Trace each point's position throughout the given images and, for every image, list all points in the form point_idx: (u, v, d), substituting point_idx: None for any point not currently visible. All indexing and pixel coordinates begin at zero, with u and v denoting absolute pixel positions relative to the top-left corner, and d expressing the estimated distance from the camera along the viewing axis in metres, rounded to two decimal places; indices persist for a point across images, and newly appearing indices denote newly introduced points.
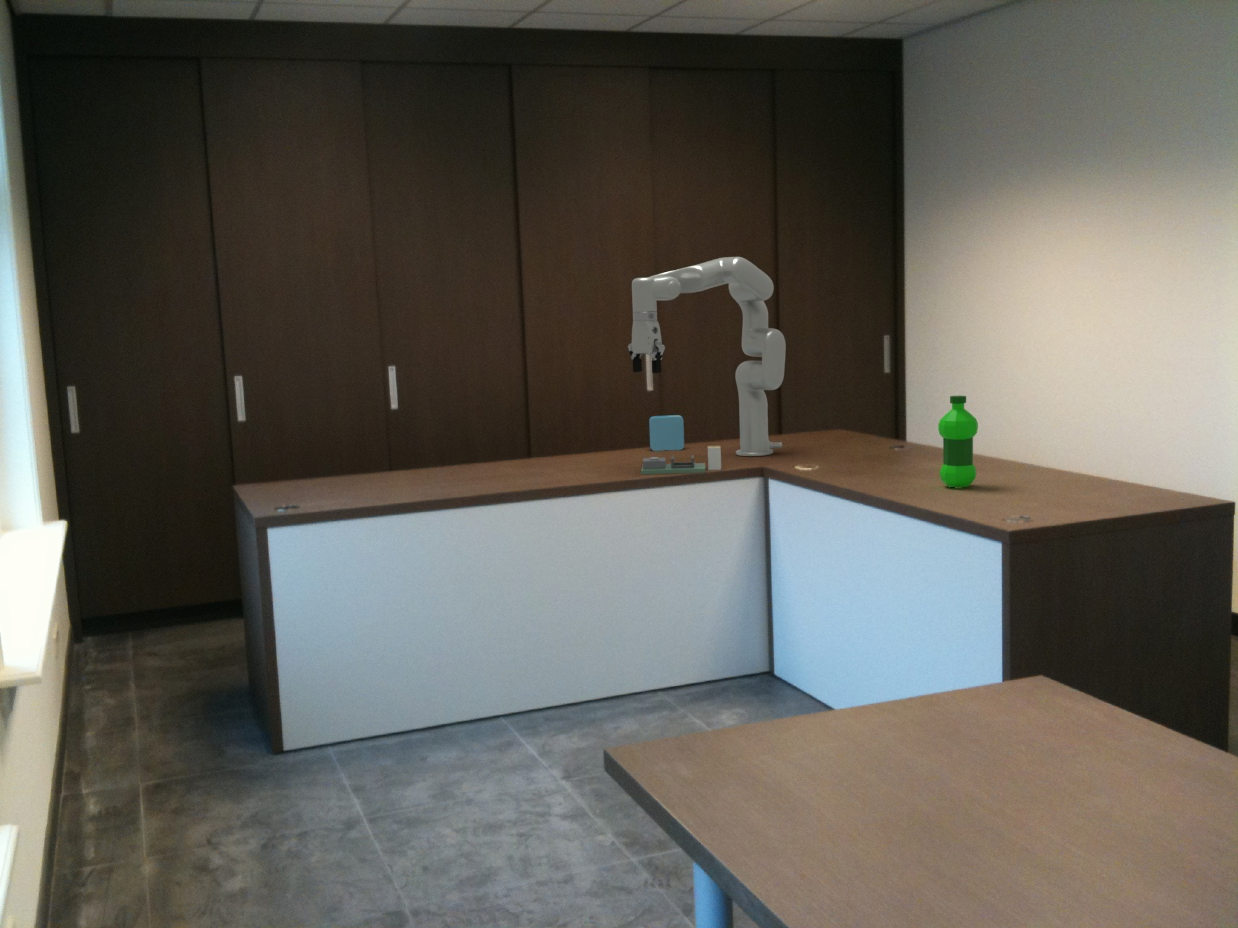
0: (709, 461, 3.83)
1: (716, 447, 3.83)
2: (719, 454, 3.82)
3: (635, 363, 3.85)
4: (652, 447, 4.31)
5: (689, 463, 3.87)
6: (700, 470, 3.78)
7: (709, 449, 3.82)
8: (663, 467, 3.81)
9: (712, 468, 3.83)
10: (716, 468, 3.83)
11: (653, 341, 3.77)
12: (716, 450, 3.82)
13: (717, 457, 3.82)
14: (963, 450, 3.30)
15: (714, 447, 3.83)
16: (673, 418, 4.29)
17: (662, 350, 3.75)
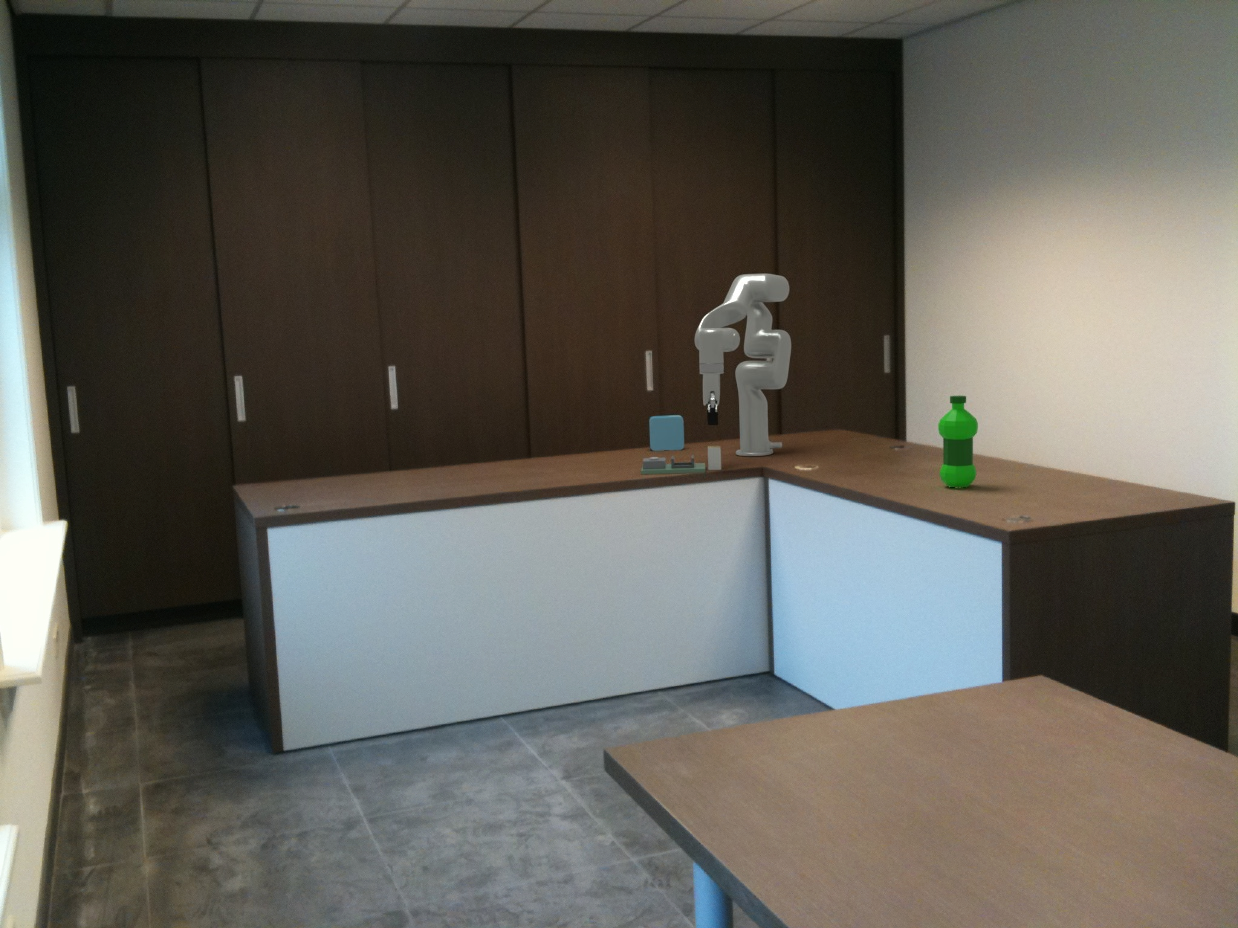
0: (709, 461, 3.83)
1: (716, 447, 3.83)
2: (719, 454, 3.82)
3: None
4: (652, 447, 4.31)
5: (689, 463, 3.87)
6: (700, 470, 3.78)
7: (709, 449, 3.82)
8: (663, 467, 3.81)
9: (712, 468, 3.83)
10: (716, 468, 3.83)
11: None
12: (716, 450, 3.82)
13: (717, 457, 3.82)
14: (963, 450, 3.30)
15: (714, 447, 3.83)
16: (673, 418, 4.29)
17: None
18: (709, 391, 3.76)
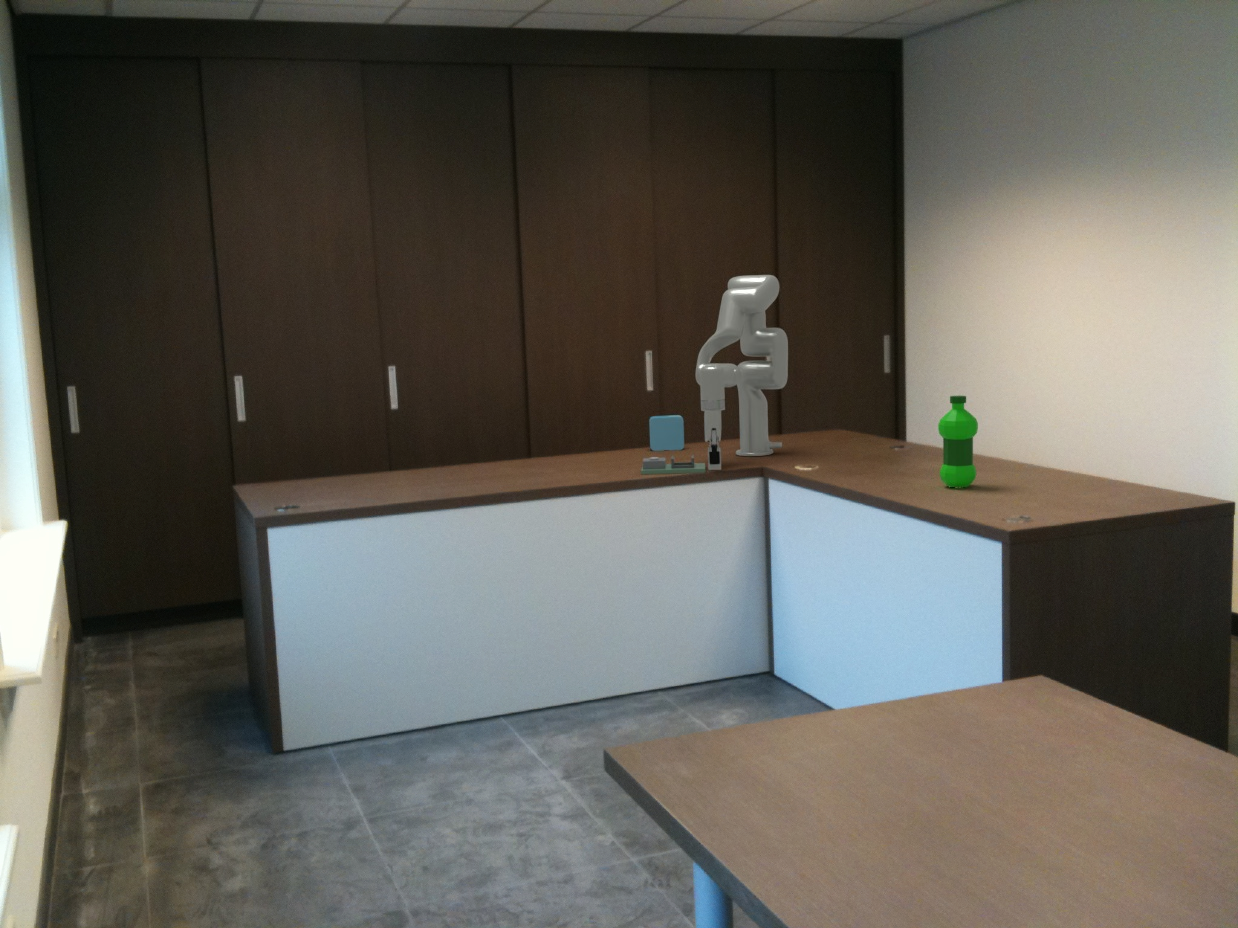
0: (709, 461, 3.83)
1: None
2: None
3: None
4: (652, 447, 4.31)
5: (689, 463, 3.87)
6: (700, 470, 3.78)
7: (709, 449, 3.82)
8: (663, 467, 3.81)
9: (712, 468, 3.83)
10: (716, 468, 3.83)
11: None
12: None
13: None
14: (963, 450, 3.30)
15: None
16: (673, 418, 4.29)
17: None
18: (711, 428, 3.78)
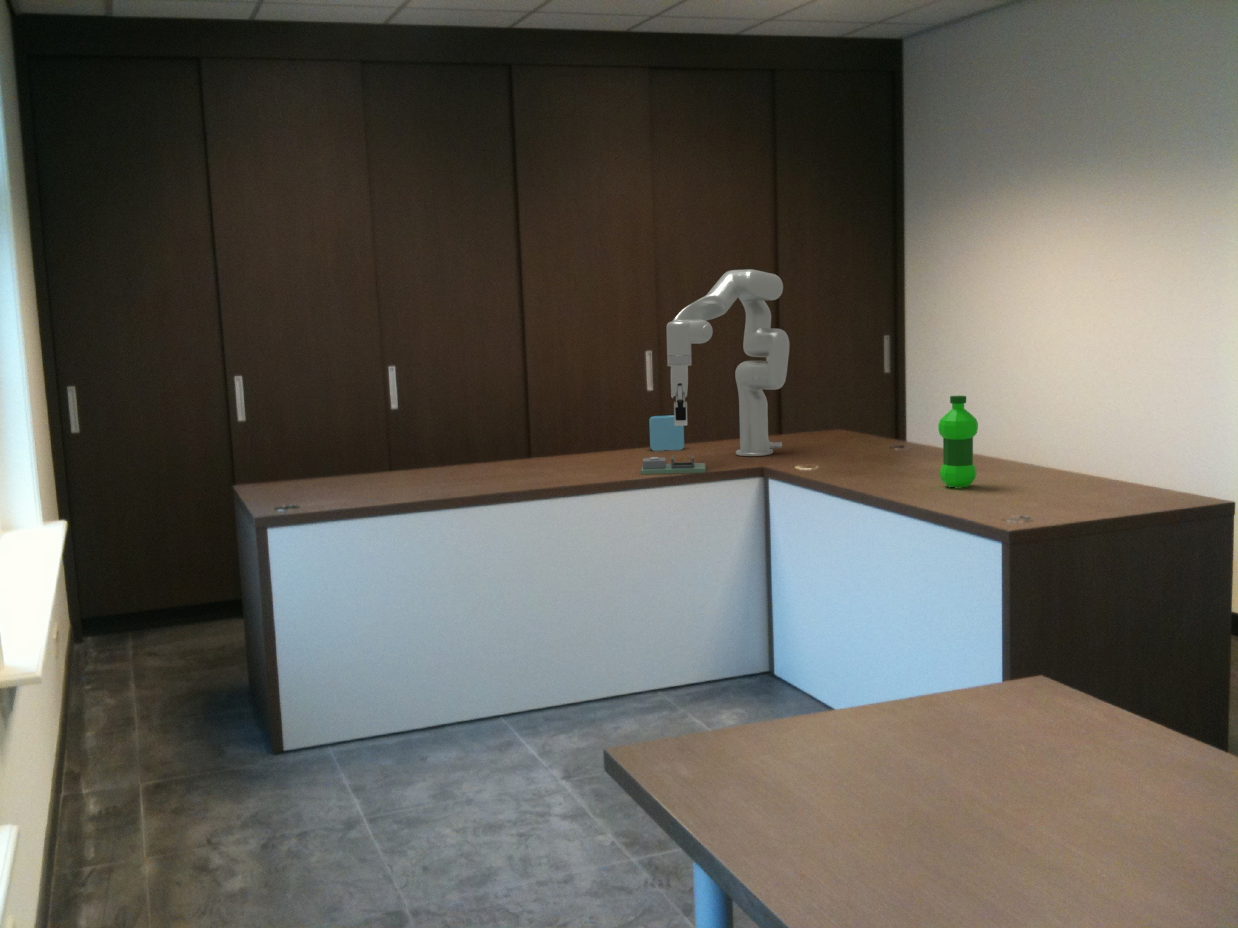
0: (675, 417, 3.80)
1: None
2: None
3: None
4: (652, 447, 4.31)
5: (689, 463, 3.87)
6: (700, 470, 3.78)
7: (675, 404, 3.79)
8: (663, 467, 3.81)
9: (678, 424, 3.80)
10: (682, 424, 3.80)
11: None
12: None
13: None
14: (963, 450, 3.30)
15: None
16: (673, 418, 4.29)
17: None
18: (677, 383, 3.76)
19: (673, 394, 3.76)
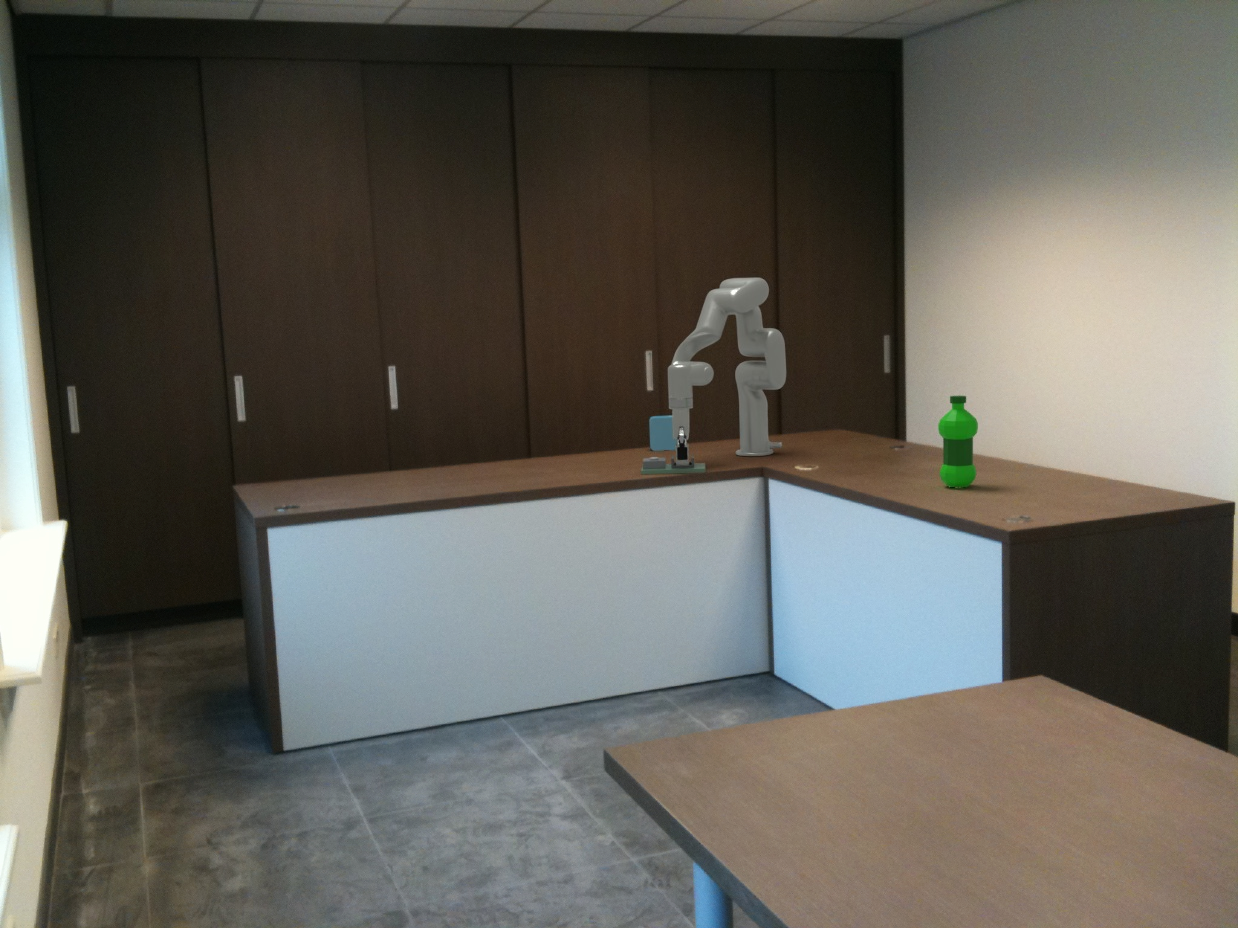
0: None
1: None
2: (687, 452, 3.82)
3: None
4: (652, 447, 4.31)
5: (689, 463, 3.87)
6: (700, 470, 3.78)
7: None
8: (663, 467, 3.81)
9: None
10: None
11: None
12: None
13: None
14: (963, 450, 3.30)
15: None
16: None
17: None
18: (678, 426, 3.78)
19: (675, 437, 3.78)
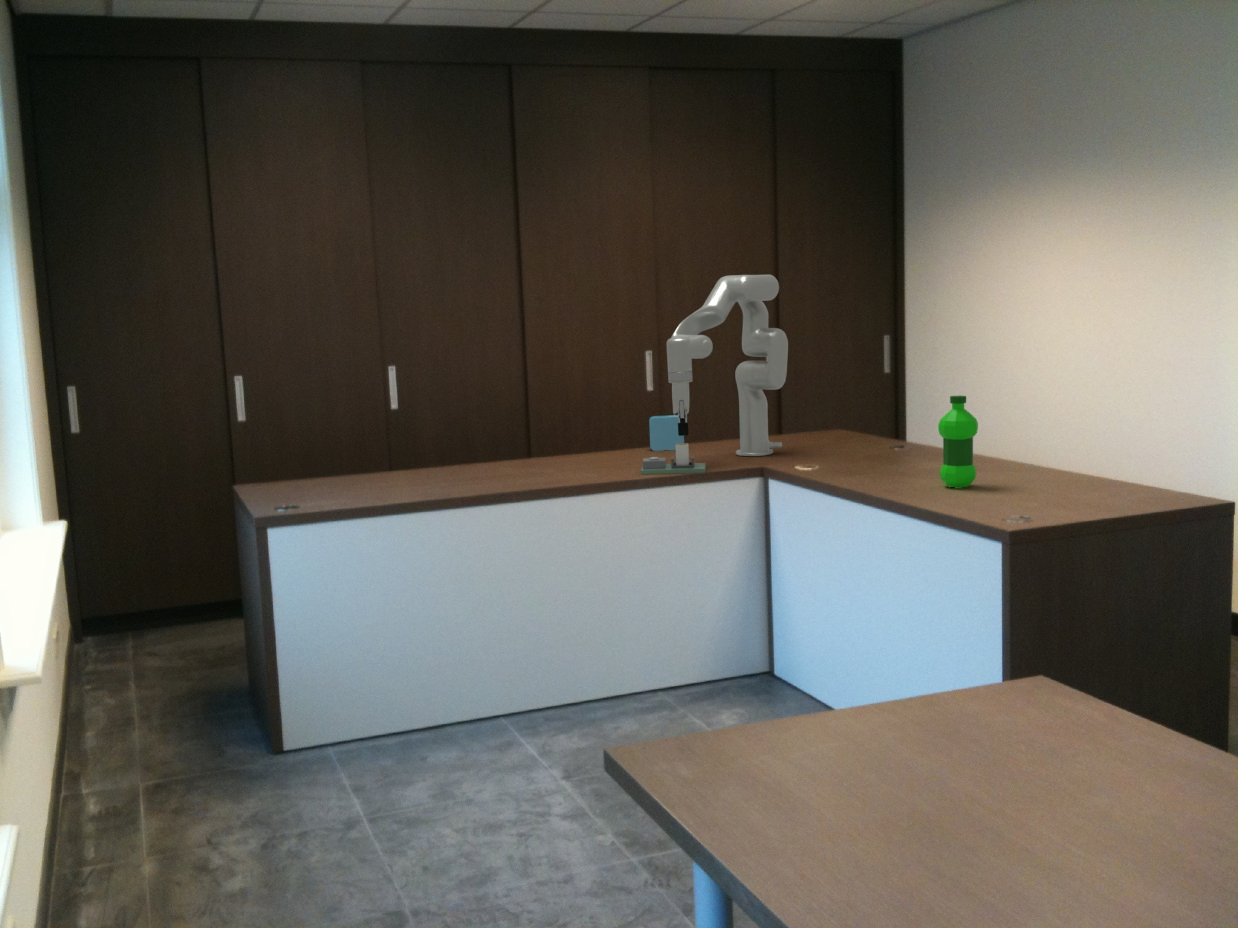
0: (677, 459, 3.82)
1: (684, 445, 3.82)
2: (687, 452, 3.82)
3: None
4: (652, 447, 4.31)
5: (689, 463, 3.87)
6: (700, 470, 3.78)
7: (677, 447, 3.82)
8: (663, 467, 3.81)
9: None
10: None
11: None
12: (683, 448, 3.81)
13: (685, 455, 3.82)
14: (963, 450, 3.30)
15: (682, 445, 3.82)
16: (673, 418, 4.29)
17: None
18: (678, 400, 3.77)
19: (675, 411, 3.77)
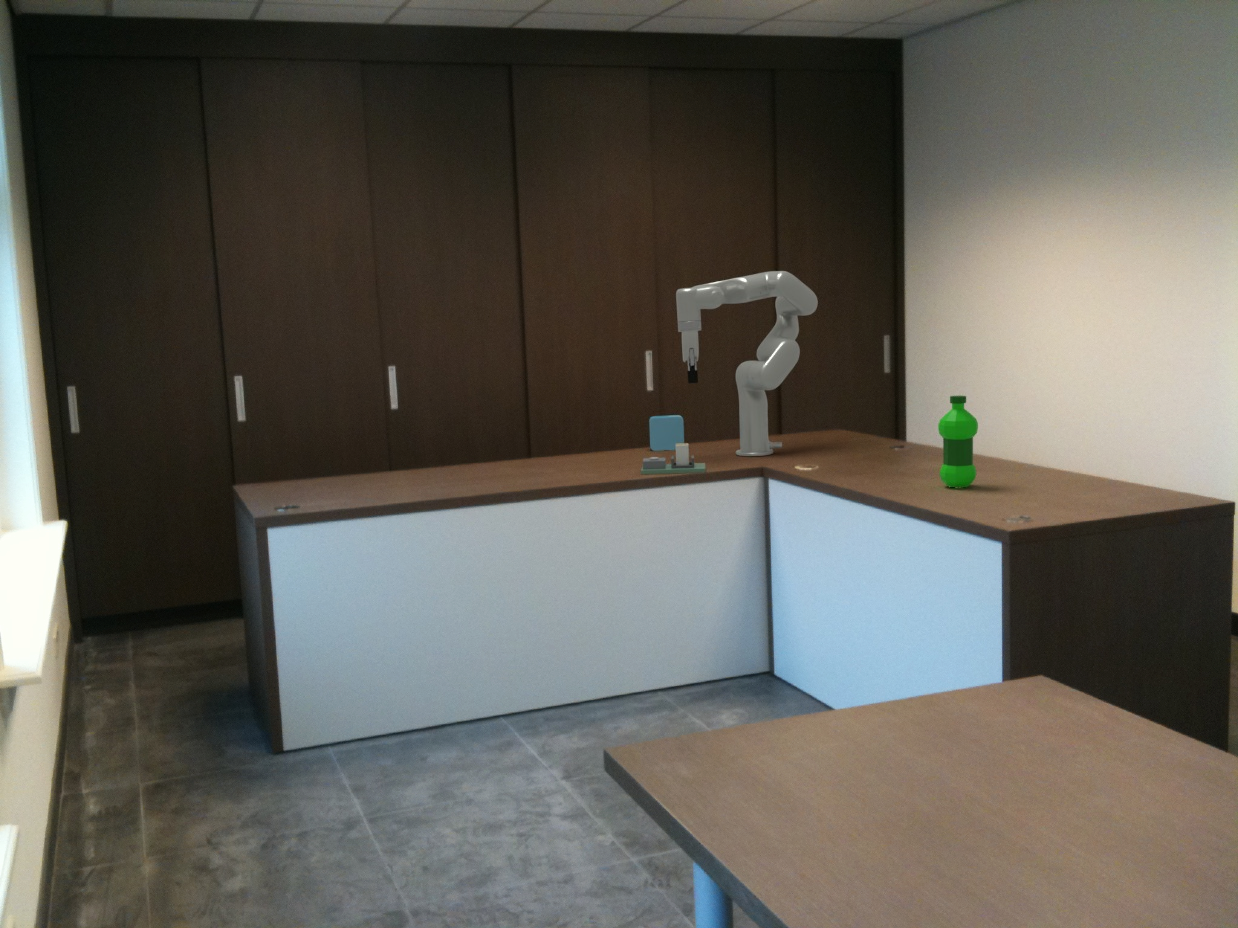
0: (677, 459, 3.82)
1: (684, 445, 3.82)
2: (687, 452, 3.82)
3: None
4: (652, 447, 4.31)
5: (689, 463, 3.87)
6: (700, 470, 3.78)
7: (677, 447, 3.82)
8: (663, 467, 3.81)
9: None
10: None
11: None
12: (683, 448, 3.81)
13: (685, 455, 3.82)
14: (963, 450, 3.30)
15: (682, 445, 3.82)
16: (673, 418, 4.29)
17: None
18: (688, 348, 3.91)
19: (685, 359, 3.91)
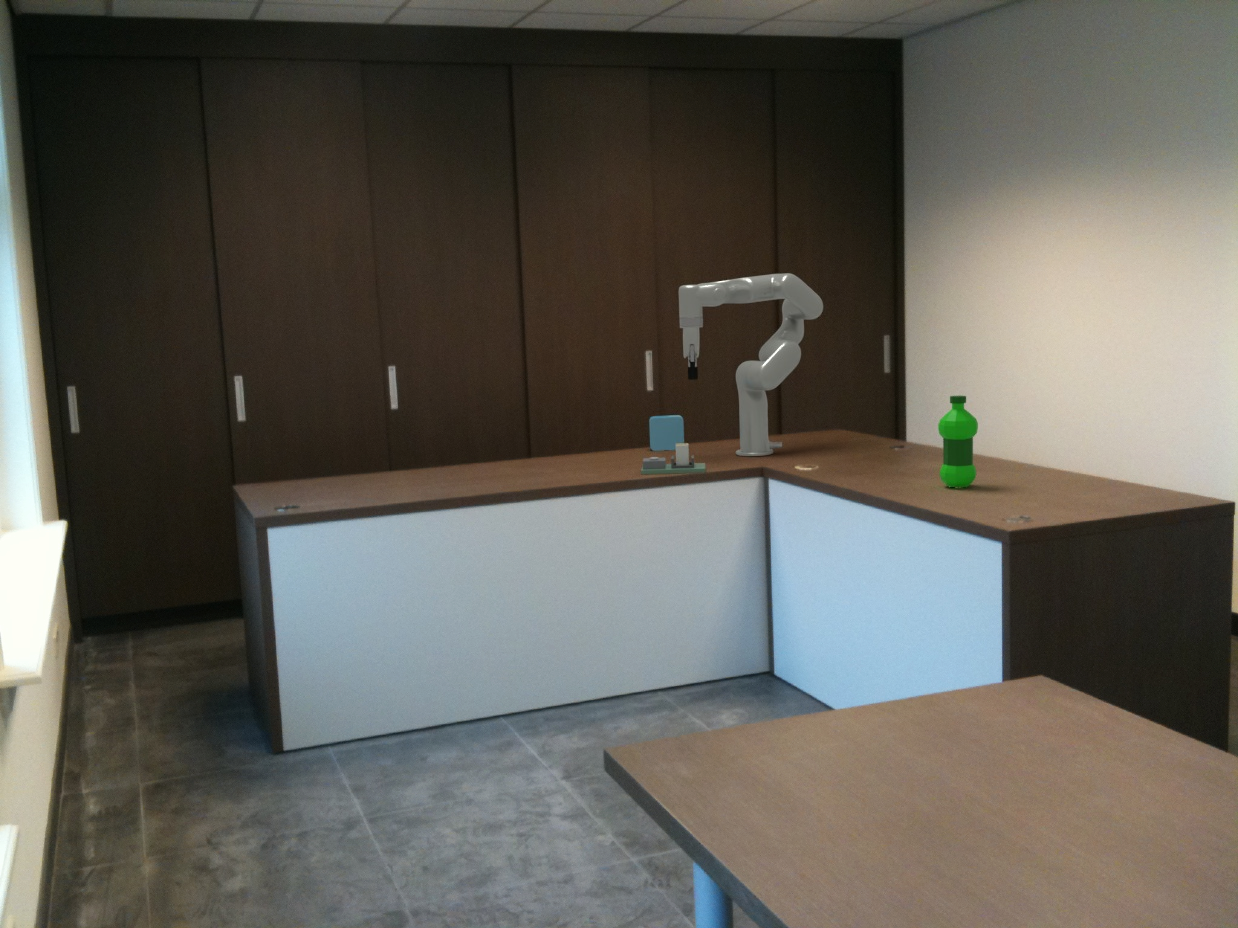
0: (677, 459, 3.82)
1: (684, 445, 3.82)
2: (687, 452, 3.82)
3: None
4: (652, 447, 4.31)
5: (689, 463, 3.87)
6: (700, 470, 3.78)
7: (677, 447, 3.82)
8: (663, 467, 3.81)
9: None
10: None
11: None
12: (683, 448, 3.81)
13: (685, 455, 3.82)
14: (963, 450, 3.30)
15: (682, 445, 3.82)
16: (673, 418, 4.29)
17: None
18: (689, 344, 3.93)
19: (685, 355, 3.93)
